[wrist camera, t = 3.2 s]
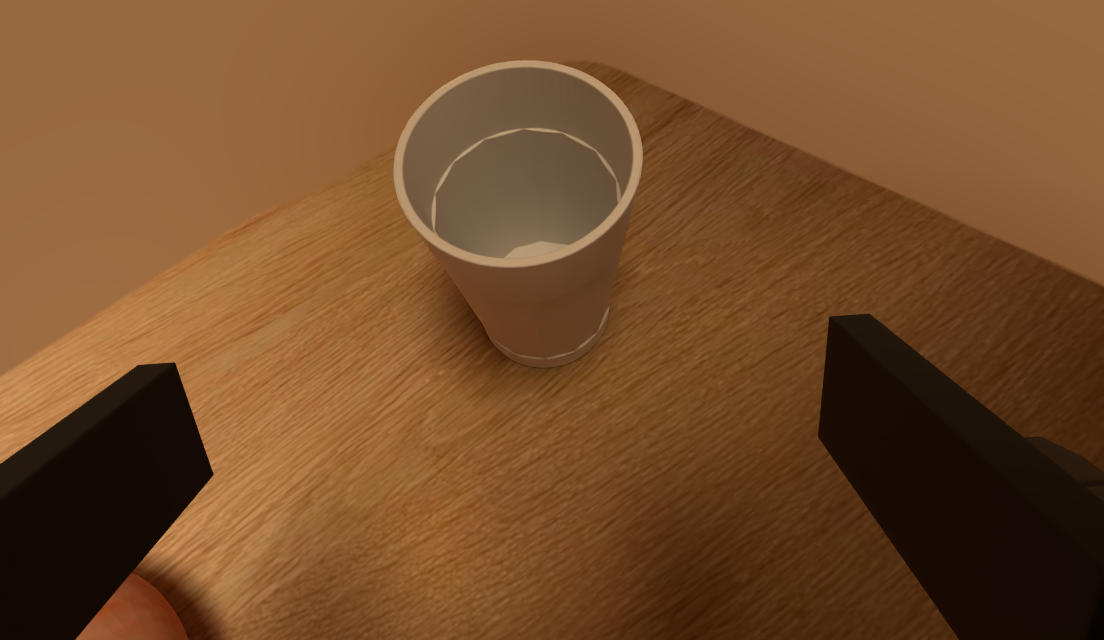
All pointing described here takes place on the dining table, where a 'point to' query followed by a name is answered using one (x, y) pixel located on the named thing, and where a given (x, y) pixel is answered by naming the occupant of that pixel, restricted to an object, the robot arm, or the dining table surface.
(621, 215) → the cup
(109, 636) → the tomato
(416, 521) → the dining table surface
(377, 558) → the dining table surface
